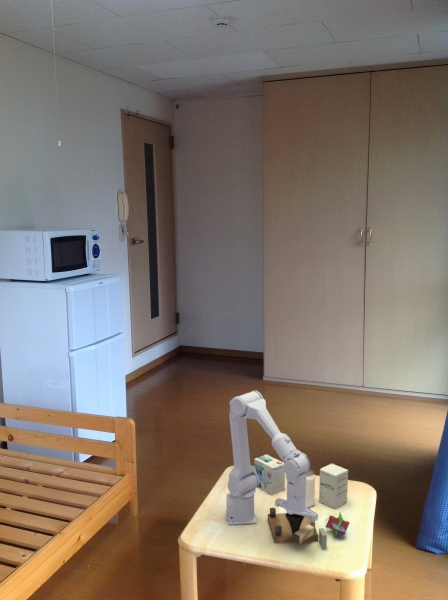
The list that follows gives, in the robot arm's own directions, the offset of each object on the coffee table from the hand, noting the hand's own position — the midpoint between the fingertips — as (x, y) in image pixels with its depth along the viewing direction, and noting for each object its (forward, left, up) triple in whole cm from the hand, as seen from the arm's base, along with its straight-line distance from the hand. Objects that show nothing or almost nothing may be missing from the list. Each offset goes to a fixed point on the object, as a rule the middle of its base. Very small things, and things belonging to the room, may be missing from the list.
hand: (295, 534), depth 175 cm
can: (+9, +24, -4) cm, 26 cm away
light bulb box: (-2, +37, -4) cm, 38 cm away
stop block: (+8, -2, -3) cm, 9 cm away
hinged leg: (+3, 0, -1) cm, 3 cm away
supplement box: (+19, +24, -4) cm, 31 cm away
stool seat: (+1, +8, -3) cm, 9 cm away
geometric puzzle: (+15, +4, -4) cm, 16 cm away
